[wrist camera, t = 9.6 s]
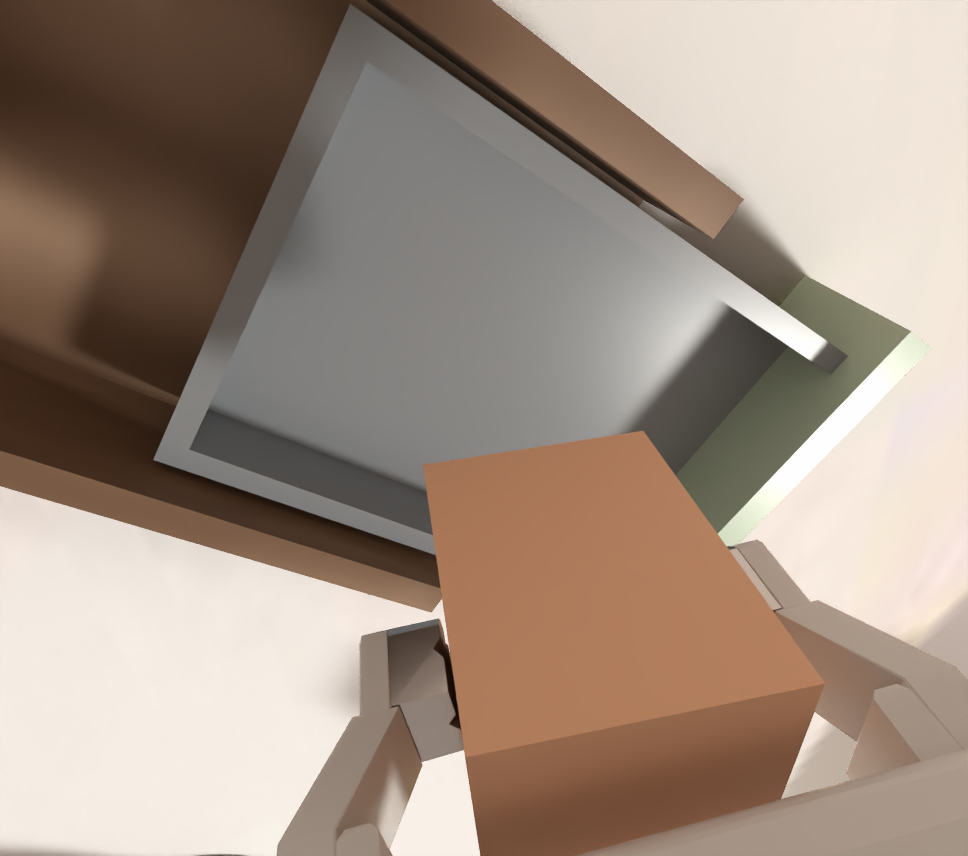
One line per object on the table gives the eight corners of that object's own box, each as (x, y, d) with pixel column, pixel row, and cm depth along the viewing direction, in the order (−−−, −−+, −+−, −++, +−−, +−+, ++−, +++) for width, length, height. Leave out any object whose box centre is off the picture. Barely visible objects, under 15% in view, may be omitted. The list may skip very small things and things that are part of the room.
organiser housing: (418, 508, 28) (431, 612, 23) (-133, 306, 20) (-303, 397, 15) (653, 162, 21) (744, 199, 16) (-19, -348, 13) (-252, -585, 8)
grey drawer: (579, 572, 31) (617, 667, 26) (173, 424, 23) (124, 522, 18) (823, 289, 25) (931, 347, 20) (378, -49, 17) (385, -84, 12)
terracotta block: (446, 618, 15) (489, 915, 10) (422, 464, 12) (465, 757, 7) (629, 585, 15) (760, 852, 10) (643, 430, 13) (825, 684, 8)
